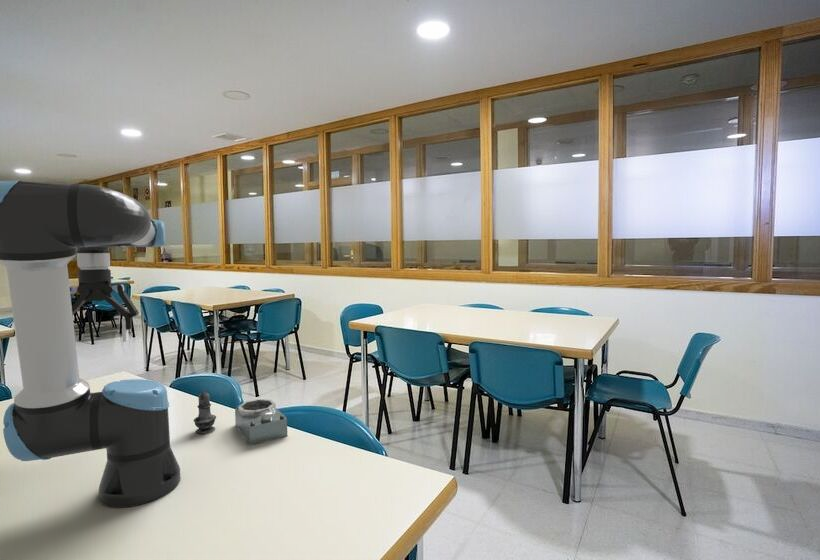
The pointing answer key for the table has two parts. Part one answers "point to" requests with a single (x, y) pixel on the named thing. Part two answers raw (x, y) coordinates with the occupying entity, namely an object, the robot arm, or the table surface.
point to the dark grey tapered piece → (204, 415)
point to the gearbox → (260, 421)
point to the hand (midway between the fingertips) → (98, 342)
